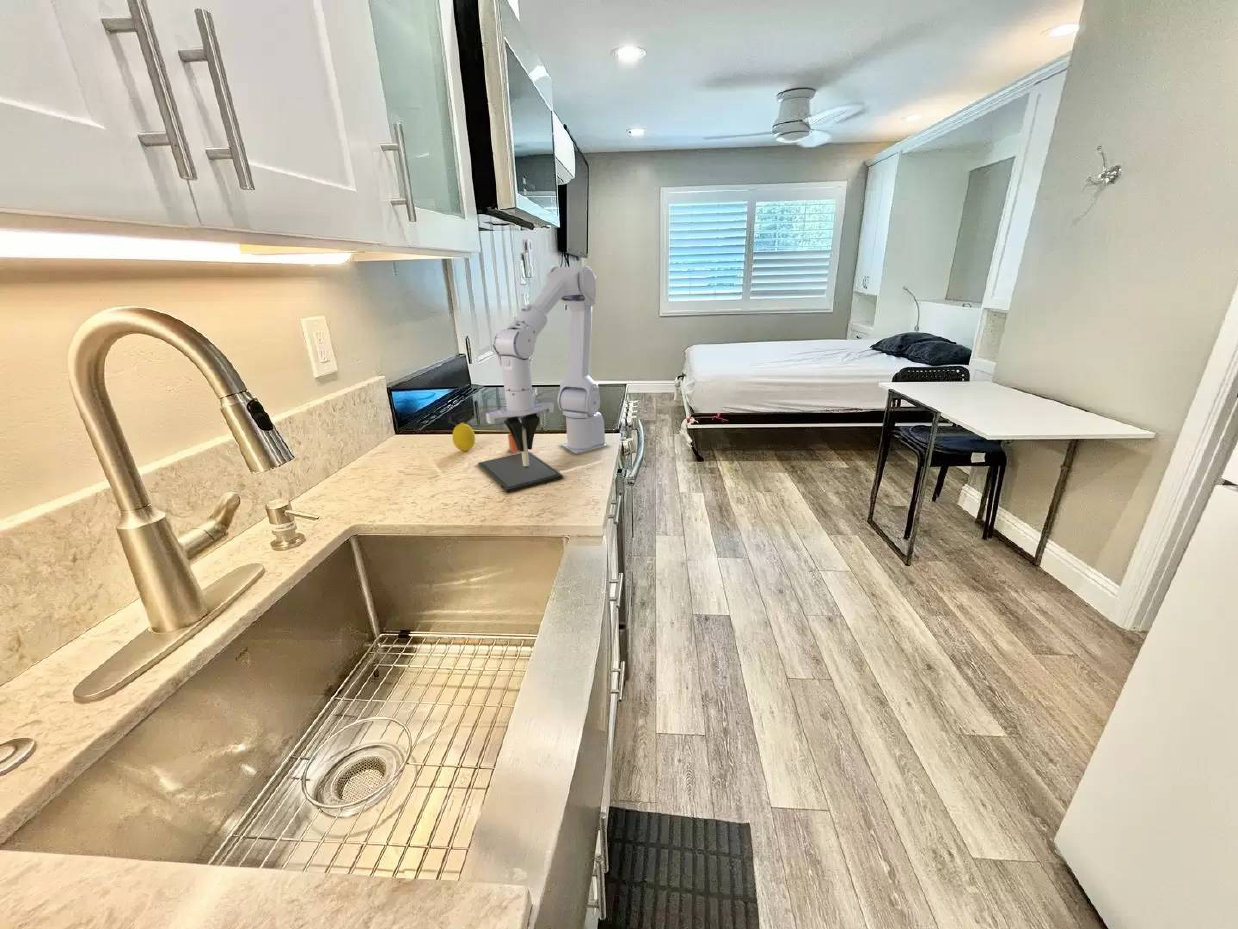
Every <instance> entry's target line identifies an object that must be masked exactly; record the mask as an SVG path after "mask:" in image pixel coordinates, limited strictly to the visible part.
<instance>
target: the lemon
mask: <svg viewBox="0 0 1238 929" xmlns="http://www.w3.org/2000/svg"><path fill="white" fill-rule="evenodd" d="M452 442H453V445H454V446H455V448H456V449H458V450H459V451H462V452H469V451H470V450H472V449H473V447H474V446H475V444H476V433H475V431H474V429H473V428H472V427H471V426H470V425H469V424H467V423H464V422H460V423H459V424H457V425H456V426H455V427H454V428H453V430H452Z"/></svg>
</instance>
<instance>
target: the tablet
mask: <svg viewBox="0 0 1238 929" xmlns="http://www.w3.org/2000/svg"><path fill="white" fill-rule="evenodd" d="M528 456H529V466H528V468H524V466H523V460H522V452H519V453H515V454H512V455H511V454H510V455H506V456H502V457H497V458H493V459H488V460H485V461H479V462H478V463H477V464H478V466H479V467H480V468H482V469H483V470H484V471H485V472H486V473H487V474H488V475H489V476H490V477H491V478H493V480H495V481H496V482H497V483H498V485H500V488H502V490H503V491H504V492H506V493H507V494H510V493H513V492H517V491H521V490H525V489H528V488H533V487H536V486H540V485H543V484H547V483H551V482H555V481H558V480H562V479H563V474H561V473H560V472H558V471H557V469H554V468H553V467H552V466H550V465H548V464H547V463H546V462H544V461H543V460H542V459H540V458H538V456H535V455H534V454H533V453H531V452H530V451H528Z"/></svg>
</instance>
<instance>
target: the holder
mask: <svg viewBox="0 0 1238 929" xmlns="http://www.w3.org/2000/svg"><path fill="white" fill-rule="evenodd" d="M507 440H508V448H509V451H510V452H520V451H519V450H518V449H517V446H516V443H515V441H514V438H513V436H512V434H511V432H510V433H508V434H507Z"/></svg>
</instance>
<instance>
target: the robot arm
mask: <svg viewBox="0 0 1238 929" xmlns="http://www.w3.org/2000/svg"><path fill="white" fill-rule="evenodd" d="M596 297H597V277H596V275H595V274H594V270H592V268H591V267H590V266H589V265H583V266H562V267H561V266H560V267H559V266H553V267H552V268H550V270H549V272H548V273H546V275H545V285H544V286H543V288H542V289H541V291H540V293H539V294H538V296H537V297H536V299H535V300H534V302H533V303H527V304H523V305H522V306H521V307H520V311H519V312H518V313H517V315H515V317H514V319H513V320H512V321H511V322H510V323H509V325H508V326H507V327H506V328H501V329H500V330H499V331H498V332H496V334H495V336H494V338H493V344H492V350H493V352H494V354H495V356H497V360H498V364H499V366H500V367H501V371H502V381H503V389H504V398H505V406H506V407H505V408H502V409H501V408H500V409H499V410H494V411H491V412H486V413H485V418H486V419H485V420H486V423H487V424H488V425H495V423H500V422H504V424H505V426H506V428H507V429H508V430H509V432H510V433H511V434H512V436H513V438H514V441H515V443H516V446H517V449H518V450H519V451H518V452H519V453H522V451H524V446H523V439H522V428H525V429H526V436H527V446H528V451H529V450H532V449H533V443H534V442H533V441H534V437H535V434H536V431H537V428H538V426H539V423H540V421H541V420H540V417H539V416H538V415H542V414H552V413H555V411H554V403H552V402H550V401H548V402H539V403H534V395H533V393H534V392H533V384H532V373H531V362H530V361H531V360H530V357H531V356H532V355H534V352H535V344H536V343H537V338H538V337H539V335H540V333H541V332H542V331H543V330H544V328H545V327H546V326H547V324H548V316H547V315H548V314H549V313H550V312H551V311H552V309H553V308H554V307H555V306H556V305H557V304H558V303H559V302H561V303H562V304H563V305H565V306H567V308H568V309H569V310H570V323H569V326H570V327H569V352H568V376H567V377H566V378H565V379H563V380H562V381H561V382H560V383H559V391H558V394H557V399H556V400H557V401H556V402H557V403H556V404H557V406H558V408H559V411H561V412H562V415H563V416H564V417H565V424H566V425H565V426H566V440H567V441H566V442H564V443H561V446H562V447H564V448H565V449H567V450H569V451H570V452H572V453H574V454H579V453H582V452H587V451H590V450H595V449H599V448H603V447H607V444H606V433H605V420H604V417H603V415H602V413H600V411H599V410H600V407H601V396H600V385H599V384H598V383H597V382H596V381H594V379H592V377H591V376H590V374H591V373H590V371H591V347H592V329H593V328H592V327H593V326H592V325H593V306H594V305H595V304H596V299H597V298H596Z"/></svg>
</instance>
